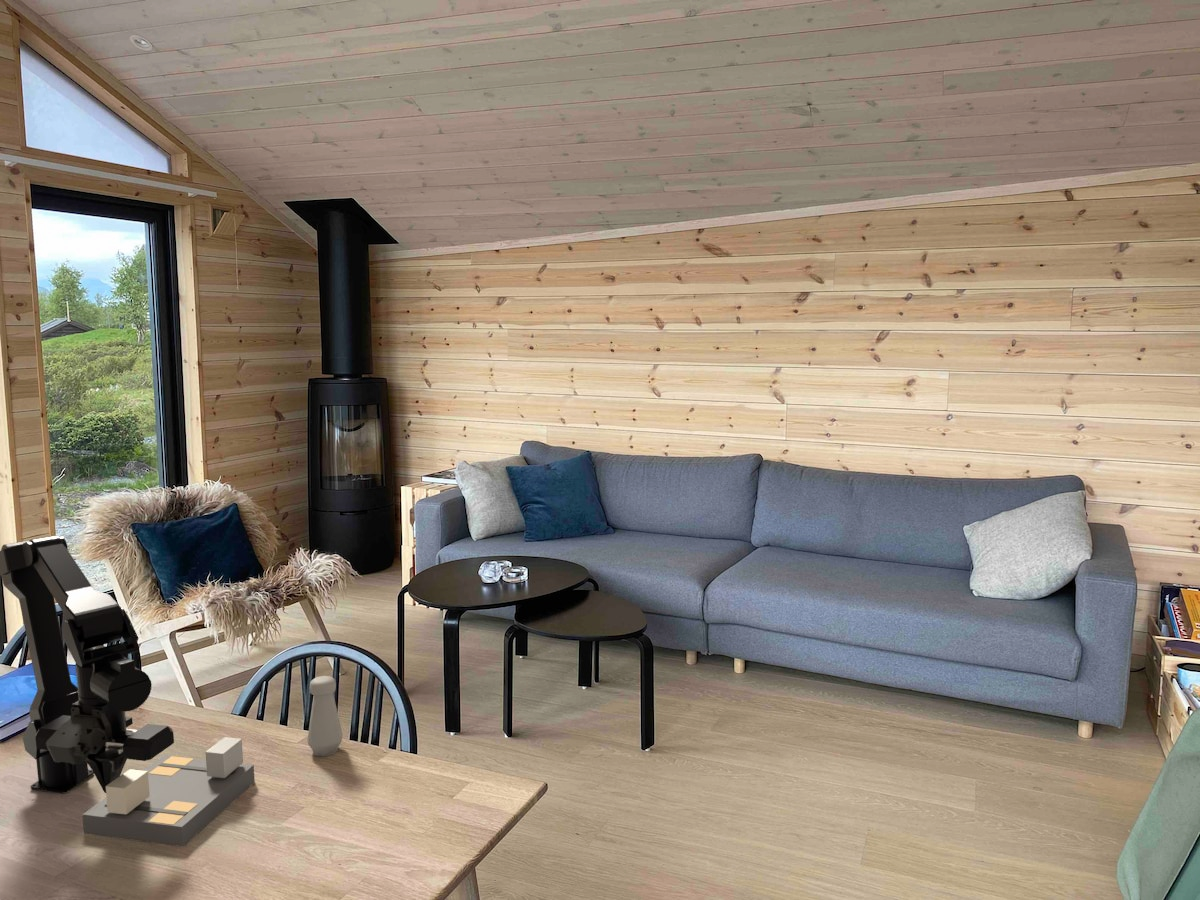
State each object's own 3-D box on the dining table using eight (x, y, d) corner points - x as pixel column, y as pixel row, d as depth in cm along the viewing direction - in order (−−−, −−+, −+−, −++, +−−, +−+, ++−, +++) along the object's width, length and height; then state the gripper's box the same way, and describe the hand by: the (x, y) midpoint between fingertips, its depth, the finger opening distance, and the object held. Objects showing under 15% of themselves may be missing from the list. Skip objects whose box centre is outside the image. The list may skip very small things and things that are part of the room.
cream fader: (107, 812, 132) (105, 786, 131) (131, 794, 137) (129, 769, 136) (126, 814, 131) (124, 788, 131) (149, 796, 136) (147, 771, 135)
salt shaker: (332, 760, 154) (329, 687, 152) (301, 757, 155) (297, 684, 153) (349, 744, 160) (346, 673, 158) (318, 741, 161) (315, 670, 159)
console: (84, 833, 133) (82, 813, 132) (165, 772, 150) (164, 754, 149) (183, 846, 129) (181, 825, 129) (254, 782, 147) (253, 763, 146)
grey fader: (207, 776, 142) (205, 751, 141) (226, 760, 147) (224, 737, 146) (224, 778, 141) (223, 753, 141) (243, 762, 146) (241, 738, 146)
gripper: (-2, 708, 126) (9, 814, 128) (118, 721, 122) (127, 829, 124) (61, 677, 137) (70, 775, 139) (172, 687, 133) (180, 788, 135)
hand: (109, 792), depth 134 cm, fingers closed
